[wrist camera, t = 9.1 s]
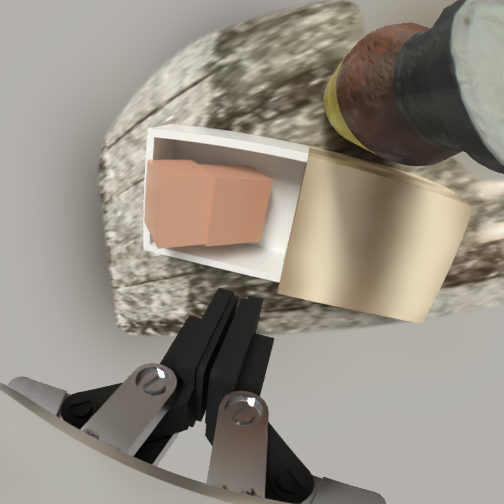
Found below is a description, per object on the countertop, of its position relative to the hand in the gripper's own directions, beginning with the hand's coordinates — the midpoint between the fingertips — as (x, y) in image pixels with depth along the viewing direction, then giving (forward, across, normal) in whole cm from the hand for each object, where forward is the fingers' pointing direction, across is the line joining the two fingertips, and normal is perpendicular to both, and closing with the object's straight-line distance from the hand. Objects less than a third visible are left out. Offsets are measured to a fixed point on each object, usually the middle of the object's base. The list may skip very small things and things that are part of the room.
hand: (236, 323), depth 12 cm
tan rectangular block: (+16, -7, 0) cm, 18 cm away
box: (+16, +5, 0) cm, 17 cm away
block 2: (+11, +3, 0) cm, 12 cm away
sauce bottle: (+16, -4, -9) cm, 19 cm away
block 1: (+12, +6, 0) cm, 13 cm away
